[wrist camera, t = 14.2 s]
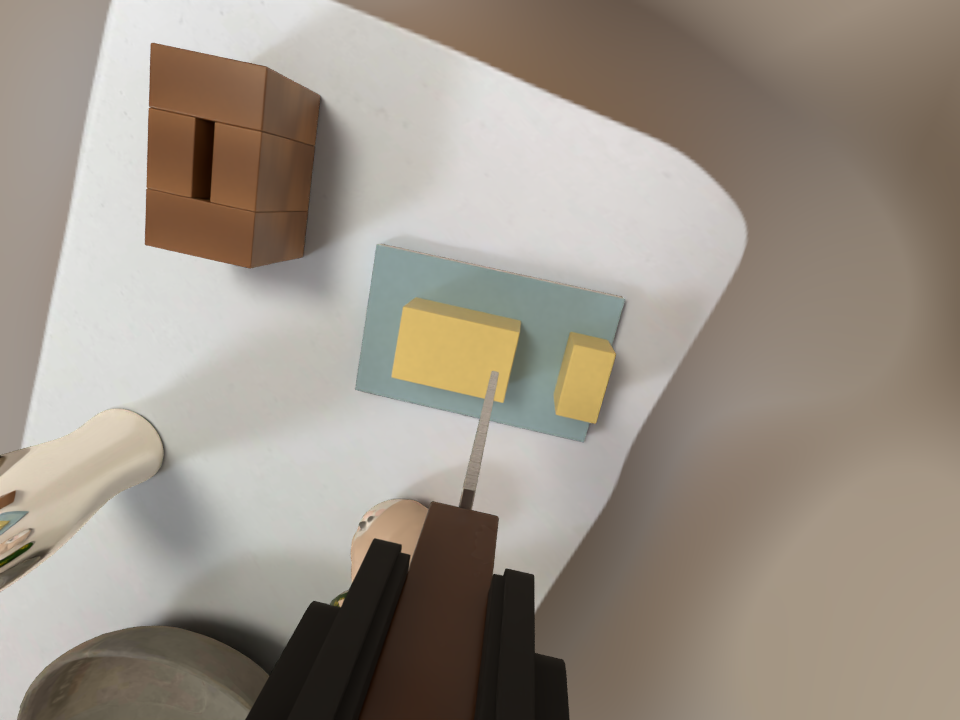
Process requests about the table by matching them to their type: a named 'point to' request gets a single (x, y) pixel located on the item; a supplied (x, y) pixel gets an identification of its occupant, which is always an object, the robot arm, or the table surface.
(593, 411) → the butter slice
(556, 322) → the butter dish
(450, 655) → the knife
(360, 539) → the garlic bulb
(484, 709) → the robot arm
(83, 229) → the table surface
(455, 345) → the butter
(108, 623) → the table surface
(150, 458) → the beer glass
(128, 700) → the bowl
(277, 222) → the knife block
